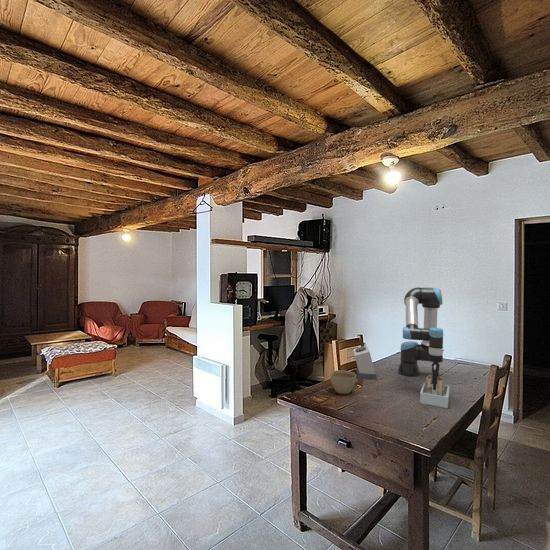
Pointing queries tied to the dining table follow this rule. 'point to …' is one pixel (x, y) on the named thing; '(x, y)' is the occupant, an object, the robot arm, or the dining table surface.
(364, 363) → the alarm clock
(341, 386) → the planter bowl
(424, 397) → the light blue crate
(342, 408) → the dining table surface
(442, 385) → the birch crate
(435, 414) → the dining table surface
